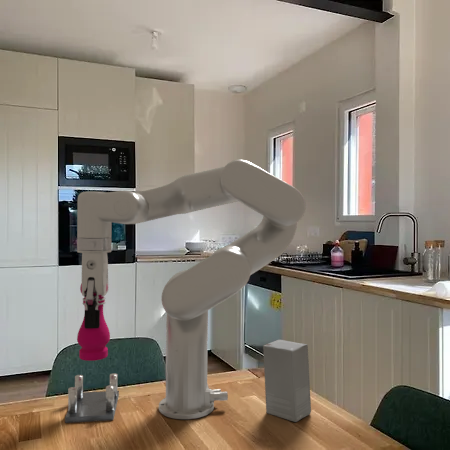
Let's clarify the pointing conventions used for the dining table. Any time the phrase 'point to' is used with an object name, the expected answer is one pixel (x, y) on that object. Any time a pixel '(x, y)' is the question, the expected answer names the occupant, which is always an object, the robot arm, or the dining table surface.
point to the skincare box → (287, 379)
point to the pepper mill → (94, 336)
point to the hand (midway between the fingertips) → (93, 324)
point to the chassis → (92, 402)
